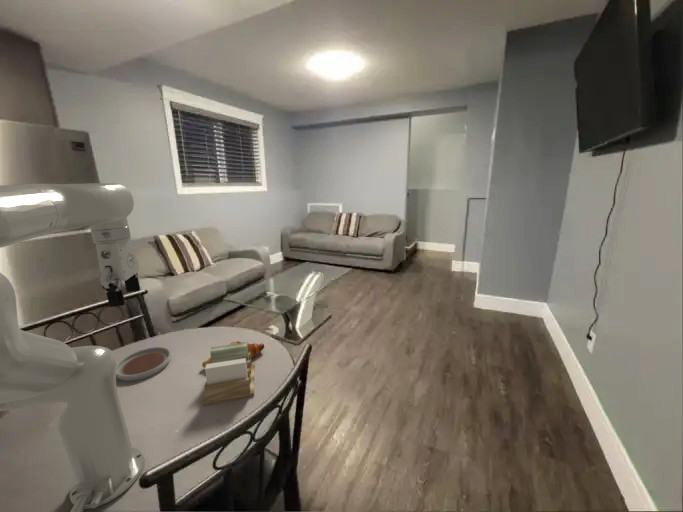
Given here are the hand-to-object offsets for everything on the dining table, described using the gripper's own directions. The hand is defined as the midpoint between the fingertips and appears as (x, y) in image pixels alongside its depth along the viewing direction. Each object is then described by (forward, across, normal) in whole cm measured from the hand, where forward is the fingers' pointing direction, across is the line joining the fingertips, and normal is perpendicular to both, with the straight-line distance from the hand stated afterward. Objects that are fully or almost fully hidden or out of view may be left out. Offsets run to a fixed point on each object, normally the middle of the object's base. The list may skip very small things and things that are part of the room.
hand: (126, 297), depth 76 cm
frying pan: (+33, +16, +12) cm, 39 cm away
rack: (+32, 0, -23) cm, 40 cm away
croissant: (+33, +13, -23) cm, 42 cm away
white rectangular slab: (+31, -4, -23) cm, 39 cm away
